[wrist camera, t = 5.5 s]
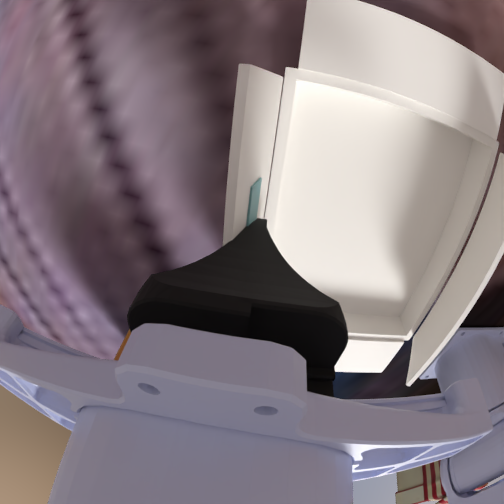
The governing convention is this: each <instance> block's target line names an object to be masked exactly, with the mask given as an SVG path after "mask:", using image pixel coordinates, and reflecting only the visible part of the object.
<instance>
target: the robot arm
mask: <svg viewBox="0 0 504 504" xmlns="http://www.w3.org/2000/svg"><path fill="white" fill-rule="evenodd" d="M127 318H128V325H129V328H130V332H131V335H130V337H129V339H128V341H127V343H126V345H125V347H124V349H123V351H122V354H121V356H120V358H119V360H107V359H100V358H97V357H94V356H91V355H89V354H86V353H83V352H81V351H78V350H75V349H73V348H70V347H68V346H65V345H63V344H60V343H58V342H56V341H53V340H51V339H49V338H46V337H44V336H42V335H40V334H37V333H35V332H33V331H31V330H29V329H27V328H25V327H24V326H23V323H22V321H21V319H20V318H19V316H18V315H17V314H16V313H15V312H14V311H12V310H11V309H9V308H7V307H5V306H3V305H1V304H0V384H1V385H2V386H4V387H5V388H6V389H7V390H9V391H10V392H12V393H13V394H15V395H16V396H17V397H19V398H20V399H22V400H23V401H25V402H26V403H27V404H29V405H30V406H32V407H33V408H35V409H36V410H38V411H39V412H41V413H42V414H44V415H46V416H47V417H49V418H50V419H52V420H54V421H55V422H57V423H59V424H60V425H62V426H64V427H65V428H67V429H69V430H71V431H72V433H71V436H70V438H69V441H68V444H67V446H66V449H65V452H64V455H63V457H62V460H61V463H60V466H59V469H58V472H57V475H56V478H55V481H54V484H53V487H52V490H51V494H50V497H49V501H48V504H353V481H356V480H362V479H367V478H373V477H378V476H383V475H387V474H391V473H395V472H400V471H404V470H407V469H411V468H415V467H418V466H422V465H425V464H428V463H432V462H435V461H438V460H441V461H440V477H441V482H442V486H443V488H444V490H445V492H446V495H447V499H448V504H504V478H503V479H501V480H500V481H498V482H496V483H494V484H492V485H490V486H488V487H486V488H484V489H481V490H477V491H476V490H474V489H476V488H478V487H480V486H482V485H484V484H486V483H488V482H490V481H492V480H494V479H496V478H498V477H500V476H502V475H503V474H504V327H496V328H458V329H457V330H456V332H455V333H454V335H453V336H452V337H451V339H450V340H449V341H448V342H447V344H446V345H445V346H444V348H443V349H442V350H441V351H440V353H439V354H438V355H437V356H436V357H435V359H434V360H433V361H432V362H431V363H430V364H429V366H428V367H427V368H426V369H425V370H424V371H423V372H422V374H421V375H420V376H419V378H420V379H431V378H437V380H438V383H439V387H440V390H441V393H439V394H432V395H423V396H414V397H402V398H388V399H362V400H343V399H338V398H334V395H333V383H332V381H334V379H335V365H336V363H337V362H338V360H339V358H340V357H341V355H342V353H343V352H344V350H345V348H346V346H347V343H348V330H347V324H346V321H345V318H344V314H343V312H342V309H341V306H340V304H339V302H337V301H336V300H334V299H332V298H331V297H329V296H327V295H325V294H324V293H322V292H320V291H319V290H318V289H316V288H315V287H314V286H312V285H311V284H309V283H308V282H307V281H306V280H305V279H303V278H302V277H301V276H300V275H299V274H298V273H297V272H296V271H295V270H294V269H293V268H292V267H291V266H290V265H289V264H288V263H287V261H286V260H285V259H284V257H283V256H282V255H281V253H280V252H279V250H278V249H277V247H276V245H275V243H274V241H273V240H272V238H271V236H270V234H269V231H268V229H267V219H261V218H257V219H256V220H255V221H253V222H252V223H251V224H250V225H249V226H246V227H245V228H244V229H243V230H242V231H241V232H240V233H239V234H238V235H237V236H236V237H235V238H234V239H233V240H231V241H229V242H228V243H226V244H225V245H224V246H223V247H221V248H220V249H218V250H217V251H215V252H214V253H212V254H211V255H209V256H206V257H204V258H202V259H200V260H198V261H196V262H194V263H191V264H189V265H186V266H183V267H180V268H177V269H174V270H170V271H166V272H162V273H158V274H153V275H151V276H150V277H149V279H148V280H147V281H146V282H145V284H144V285H143V286H142V288H141V289H140V291H139V292H138V294H137V296H136V298H135V299H134V301H133V303H132V305H131V307H130V308H129V311H128V315H127Z"/></svg>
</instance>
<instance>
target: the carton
mask: <svg viewBox="0 0 504 504" xmlns="http://www.w3.org/2000/svg"><path fill="white" fill-rule="evenodd" d="M503 104H504V73H502V72H501V71H500V70H498V69H497V68H496V67H494V66H493V65H491V64H490V63H489V62H487V61H486V60H484V59H483V58H481V57H480V56H478V55H477V54H475V53H474V52H472V51H470V50H469V49H467V48H466V47H464V46H462V45H461V44H459V43H457V42H455V41H454V40H452V39H450V38H448V37H446V36H444V35H443V34H441V33H439V32H437V31H435V30H433V29H431V28H429V27H427V26H425V25H422V24H420V23H418V22H416V21H413V20H411V19H409V18H406V17H404V16H402V15H399V14H396V13H394V12H391V11H389V10H386V9H383V8H380V7H377V6H374V5H371V4H368V3H365V2H361V1H358V0H307V4H306V12H305V20H304V28H303V36H302V43H301V51H300V58H299V66H298V69H297V68H290V67H286V69H285V74H284V82H283V89H282V96H281V104H280V111H279V118H278V125H277V132H276V139H275V147H274V154H273V161H272V168H271V175H270V182H269V188H268V195H267V202H266V209H265V216H264V219H267V229H268V231H269V234H270V236H271V238H272V240H273V241H274V243H275V245H276V247H277V249H278V250H279V252H280V253H281V255H282V256H283V257H284V259H285V260H286V261H287V263H288V264H289V265H290V266H291V267H292V268H293V269H294V270H295V271H296V272H297V273H298V274H299V275H300V276H301V277H302V278H303V279H305V280H306V281H307V282H308V283H309V284H311V285H312V286H314V287H315V288H316V289H318V290H319V291H320V292H322V293H324V294H325V295H327V296H329V297H331V298H332V299H334V300H336V301H337V302H339V304H340V306H341V309H342V312H343V314H344V318H345V321H346V324H347V330H348V343H347V346H346V348H345V350H344V352H343V353H342V355H341V357H340V358H339V360H338V362H337V363H336V365H335V372H382V371H383V370H384V369H385V368H386V366H387V365H388V364H389V362H390V361H391V360H392V359H393V357H394V356H395V354H396V353H397V352H398V350H399V349H400V348H401V346H402V345H403V343H404V340H409V339H410V338H411V336H412V335H413V333H414V332H415V330H416V329H417V327H418V326H419V324H420V323H421V321H422V320H423V318H424V317H425V315H426V314H427V312H428V310H429V309H430V307H431V306H432V304H433V302H434V301H435V299H436V297H437V295H438V294H439V292H440V290H441V288H442V287H443V285H444V283H445V281H446V279H447V278H448V276H449V274H450V272H451V270H452V268H453V266H454V264H455V262H456V260H457V258H458V256H459V254H460V252H461V250H462V248H463V246H464V244H465V241H466V239H467V237H468V235H469V232H470V230H471V228H472V225H473V223H474V220H475V218H476V215H477V213H478V210H479V208H480V205H481V202H482V200H483V197H484V194H485V191H486V188H487V185H488V182H489V179H490V176H491V172H492V169H493V165H494V162H495V158H496V154H497V151H498V147H499V142H497V136H498V132H499V127H500V122H501V116H502V110H503Z"/></svg>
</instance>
